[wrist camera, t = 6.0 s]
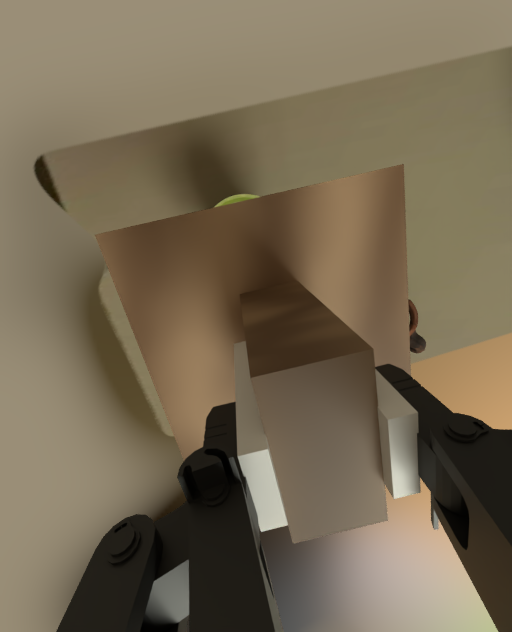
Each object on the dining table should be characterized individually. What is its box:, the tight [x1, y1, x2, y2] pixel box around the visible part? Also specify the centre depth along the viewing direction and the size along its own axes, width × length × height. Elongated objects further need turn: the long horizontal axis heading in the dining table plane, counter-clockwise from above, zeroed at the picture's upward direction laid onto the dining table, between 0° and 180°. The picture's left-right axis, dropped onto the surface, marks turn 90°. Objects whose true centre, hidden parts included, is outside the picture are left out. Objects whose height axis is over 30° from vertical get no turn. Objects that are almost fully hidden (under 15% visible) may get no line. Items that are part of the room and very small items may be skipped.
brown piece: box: [95, 164, 411, 544], centre depth 17 cm, size 14×14×20 cm
